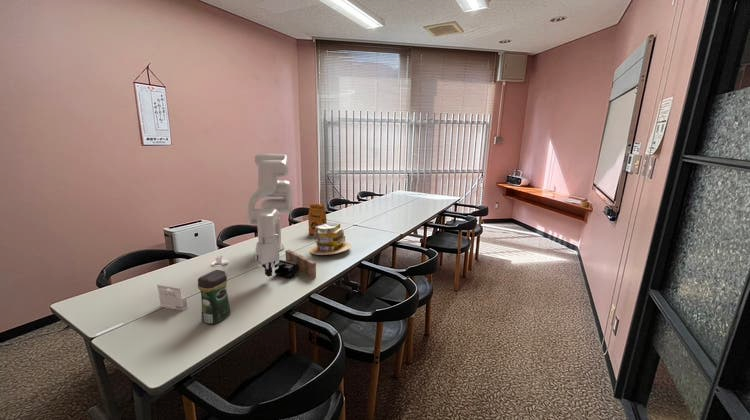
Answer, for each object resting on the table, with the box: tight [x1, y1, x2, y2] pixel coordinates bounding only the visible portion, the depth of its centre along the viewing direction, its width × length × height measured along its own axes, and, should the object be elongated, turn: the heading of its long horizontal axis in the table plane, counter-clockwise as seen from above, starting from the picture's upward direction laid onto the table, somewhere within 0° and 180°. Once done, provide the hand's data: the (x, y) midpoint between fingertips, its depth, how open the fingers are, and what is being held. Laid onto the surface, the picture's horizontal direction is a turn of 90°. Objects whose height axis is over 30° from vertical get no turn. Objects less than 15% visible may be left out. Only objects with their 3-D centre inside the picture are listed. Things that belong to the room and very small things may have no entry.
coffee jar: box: [197, 269, 231, 325], centre depth 117 cm, size 10×8×19 cm
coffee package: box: [307, 202, 328, 236], centre depth 216 cm, size 10×12×22 cm
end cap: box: [273, 259, 299, 280], centre depth 155 cm, size 10×7×7 cm
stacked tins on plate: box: [310, 222, 352, 256], centre depth 188 cm, size 25×25×17 cm
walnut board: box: [285, 249, 317, 280], centre depth 160 cm, size 24×2×8 cm, turn 48°
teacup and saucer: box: [211, 255, 229, 267], centre depth 166 cm, size 9×8×4 cm
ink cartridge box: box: [156, 284, 188, 311], centre depth 123 cm, size 2×11×10 cm, turn 77°
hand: (268, 275), depth 148 cm, fingers closed
